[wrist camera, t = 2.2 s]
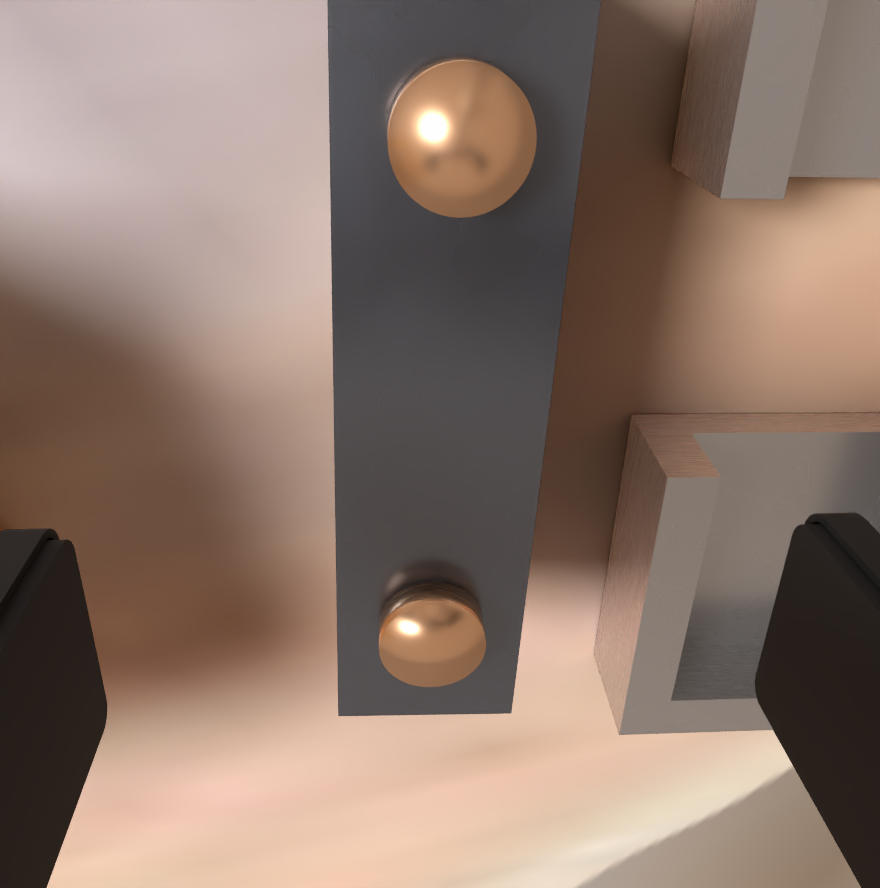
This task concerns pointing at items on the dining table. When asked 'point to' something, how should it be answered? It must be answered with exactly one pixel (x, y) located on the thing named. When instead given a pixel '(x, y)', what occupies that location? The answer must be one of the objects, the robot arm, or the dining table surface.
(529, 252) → the link bar
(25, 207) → the dining table surface
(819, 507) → the end link
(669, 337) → the dining table surface
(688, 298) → the dining table surface
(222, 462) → the dining table surface
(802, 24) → the end link
